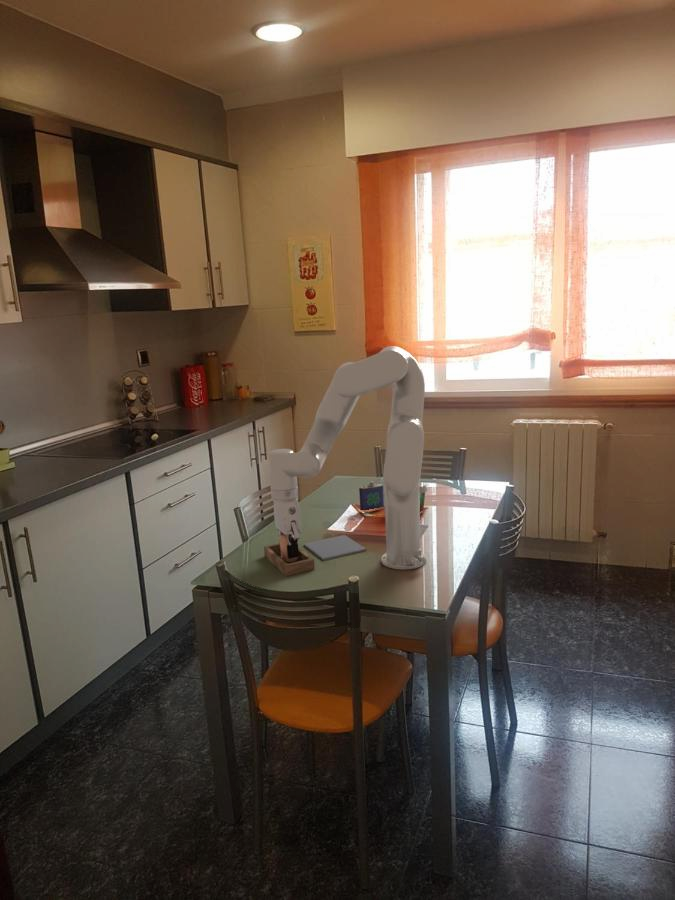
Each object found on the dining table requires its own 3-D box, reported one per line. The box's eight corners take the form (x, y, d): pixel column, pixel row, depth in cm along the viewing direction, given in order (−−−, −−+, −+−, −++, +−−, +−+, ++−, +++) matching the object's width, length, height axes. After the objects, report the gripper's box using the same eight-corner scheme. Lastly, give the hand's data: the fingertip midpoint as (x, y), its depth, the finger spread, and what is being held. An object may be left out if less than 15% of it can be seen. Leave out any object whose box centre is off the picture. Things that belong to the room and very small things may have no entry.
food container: (389, 517, 223) (388, 488, 221) (392, 511, 229) (391, 483, 227) (425, 518, 220) (425, 489, 218) (427, 512, 226) (427, 484, 224)
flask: (382, 507, 234) (381, 478, 232) (386, 509, 232) (385, 480, 229) (358, 511, 231) (357, 482, 228) (362, 514, 228) (361, 484, 225)
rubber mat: (366, 550, 194) (366, 548, 194) (323, 560, 189) (323, 558, 188) (344, 536, 207) (344, 534, 207) (303, 545, 201) (303, 543, 201)
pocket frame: (314, 569, 183) (314, 559, 182) (285, 576, 179) (285, 565, 178) (291, 550, 198) (290, 540, 197) (264, 556, 194) (263, 546, 193)
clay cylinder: (301, 559, 187) (299, 536, 185) (285, 563, 185) (283, 539, 183) (294, 554, 191) (292, 531, 190) (278, 557, 189) (276, 534, 188)
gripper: (309, 498, 178) (313, 561, 182) (285, 484, 193) (290, 542, 197) (283, 503, 175) (288, 567, 179) (261, 488, 190) (266, 548, 194)
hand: (289, 553), depth 188 cm, fingers closed on clay cylinder, 5 cm apart
